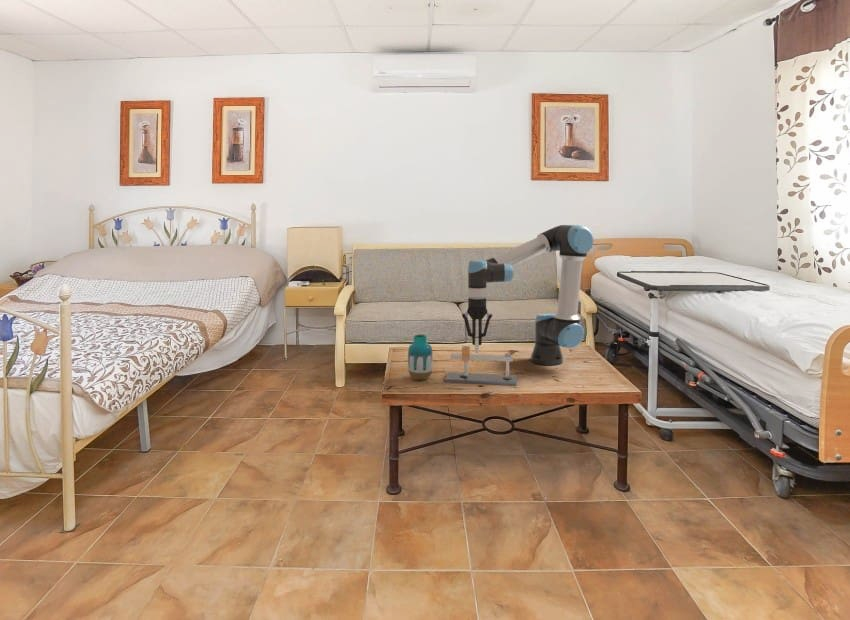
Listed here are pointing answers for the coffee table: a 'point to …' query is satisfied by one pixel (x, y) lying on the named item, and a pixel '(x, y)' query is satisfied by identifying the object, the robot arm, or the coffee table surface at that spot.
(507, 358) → the bar
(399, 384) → the coffee table surface
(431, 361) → the vase
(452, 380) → the flange plate
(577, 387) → the coffee table surface
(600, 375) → the coffee table surface
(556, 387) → the coffee table surface
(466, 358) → the block
